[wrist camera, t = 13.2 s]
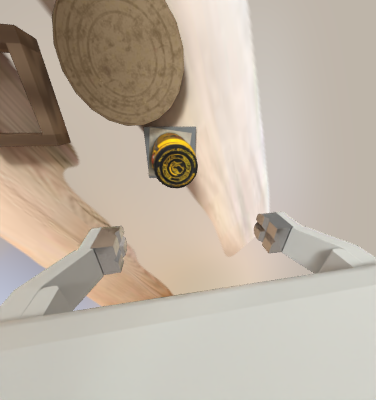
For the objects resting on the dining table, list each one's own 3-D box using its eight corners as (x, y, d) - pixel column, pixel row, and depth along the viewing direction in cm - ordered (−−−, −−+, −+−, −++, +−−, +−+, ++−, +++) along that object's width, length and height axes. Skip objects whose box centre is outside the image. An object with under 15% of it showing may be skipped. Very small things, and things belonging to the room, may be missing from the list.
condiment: (191, 132, 28) (210, 142, 17) (185, 177, 31) (197, 208, 21) (149, 127, 26) (142, 133, 16) (148, 174, 30) (142, 205, 19)
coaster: (143, 126, 26) (143, 127, 26) (195, 126, 28) (195, 126, 27) (149, 176, 31) (149, 177, 30) (194, 174, 32) (194, 175, 31)
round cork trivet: (139, -53, 18) (136, -82, 15) (198, 93, 26) (203, 90, 23) (35, 29, 20) (16, 15, 17) (120, 143, 27) (116, 145, 25)
